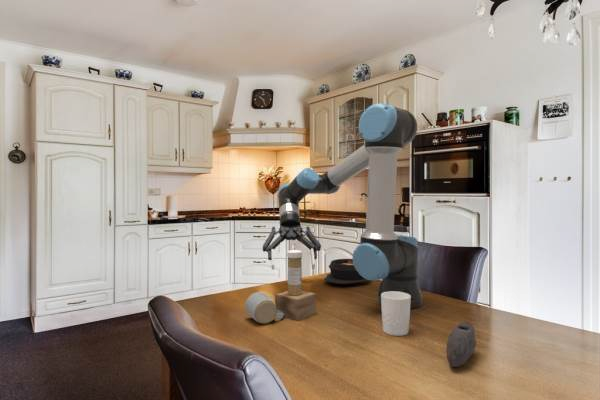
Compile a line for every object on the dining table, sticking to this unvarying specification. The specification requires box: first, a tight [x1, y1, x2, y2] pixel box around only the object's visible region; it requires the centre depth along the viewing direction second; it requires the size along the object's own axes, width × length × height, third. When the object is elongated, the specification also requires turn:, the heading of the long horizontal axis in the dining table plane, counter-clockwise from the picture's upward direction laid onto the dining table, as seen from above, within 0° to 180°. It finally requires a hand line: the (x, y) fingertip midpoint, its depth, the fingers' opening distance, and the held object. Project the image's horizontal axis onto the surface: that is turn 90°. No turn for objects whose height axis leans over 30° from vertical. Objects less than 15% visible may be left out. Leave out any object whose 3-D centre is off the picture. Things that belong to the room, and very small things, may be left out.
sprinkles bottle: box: [286, 249, 303, 295], centre depth 119 cm, size 5×5×13 cm
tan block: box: [274, 290, 317, 322], centre depth 120 cm, size 9×9×6 cm
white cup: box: [380, 291, 411, 337], centre depth 105 cm, size 8×8×10 cm
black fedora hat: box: [323, 258, 369, 285], centre depth 163 cm, size 25×19×8 cm
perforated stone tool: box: [445, 321, 477, 368], centre depth 87 cm, size 15×5×7 cm, turn 143°
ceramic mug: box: [244, 291, 284, 325], centre depth 114 cm, size 11×8×8 cm
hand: (293, 267), depth 128 cm, fingers open, 13 cm apart
